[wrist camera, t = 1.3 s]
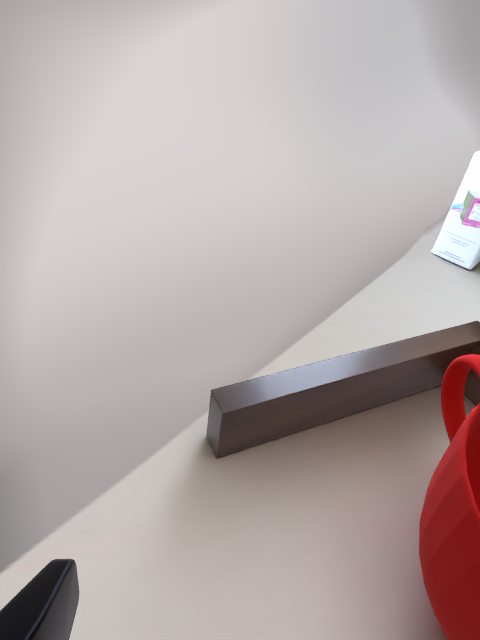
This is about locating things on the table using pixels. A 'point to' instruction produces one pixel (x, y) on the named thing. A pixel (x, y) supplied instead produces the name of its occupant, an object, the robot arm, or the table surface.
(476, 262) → the ink box
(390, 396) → the corner guide
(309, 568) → the table surface
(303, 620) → the table surface
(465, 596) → the ceramic cup
